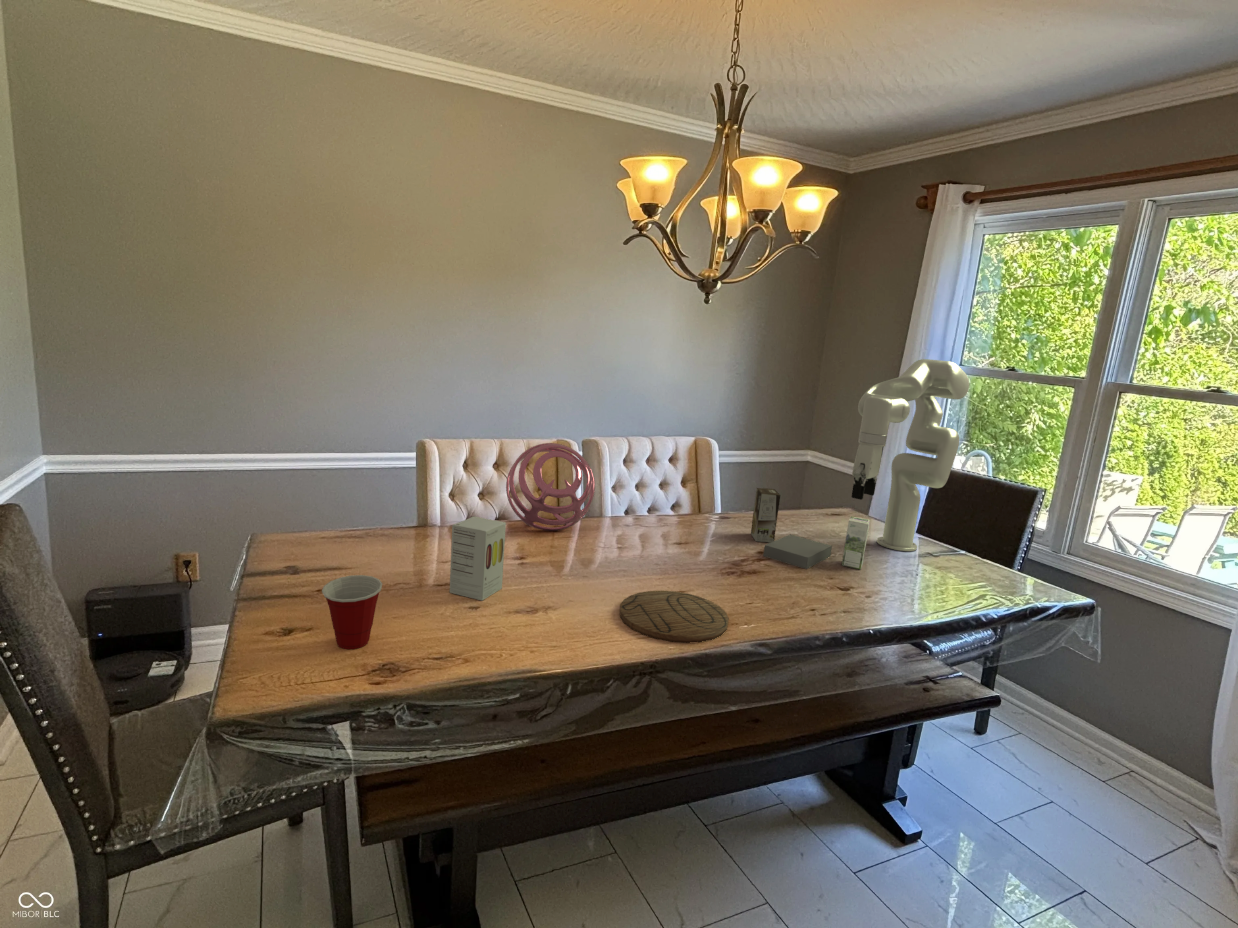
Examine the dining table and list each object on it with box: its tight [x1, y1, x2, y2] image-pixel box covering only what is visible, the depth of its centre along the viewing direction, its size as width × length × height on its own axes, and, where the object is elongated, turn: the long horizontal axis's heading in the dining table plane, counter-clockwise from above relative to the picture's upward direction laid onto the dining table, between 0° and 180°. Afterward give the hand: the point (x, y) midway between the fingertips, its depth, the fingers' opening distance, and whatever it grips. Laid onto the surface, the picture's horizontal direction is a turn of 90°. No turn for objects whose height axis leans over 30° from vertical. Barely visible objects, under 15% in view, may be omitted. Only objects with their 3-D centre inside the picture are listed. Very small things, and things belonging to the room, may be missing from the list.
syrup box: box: [841, 516, 871, 570], centre depth 204 cm, size 6×6×14 cm
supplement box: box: [449, 516, 507, 601], centre depth 161 cm, size 10×9×17 cm
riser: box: [762, 534, 833, 570], centre depth 209 cm, size 18×14×4 cm
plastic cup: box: [321, 574, 383, 650], centre depth 131 cm, size 11×11×12 cm
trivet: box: [619, 590, 729, 644], centre depth 157 cm, size 25×25×2 cm
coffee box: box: [750, 487, 781, 543], centre depth 224 cm, size 9×6×16 cm
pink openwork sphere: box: [505, 442, 596, 532], centre depth 217 cm, size 28×28×27 cm
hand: (862, 496), depth 201 cm, fingers open, 9 cm apart
